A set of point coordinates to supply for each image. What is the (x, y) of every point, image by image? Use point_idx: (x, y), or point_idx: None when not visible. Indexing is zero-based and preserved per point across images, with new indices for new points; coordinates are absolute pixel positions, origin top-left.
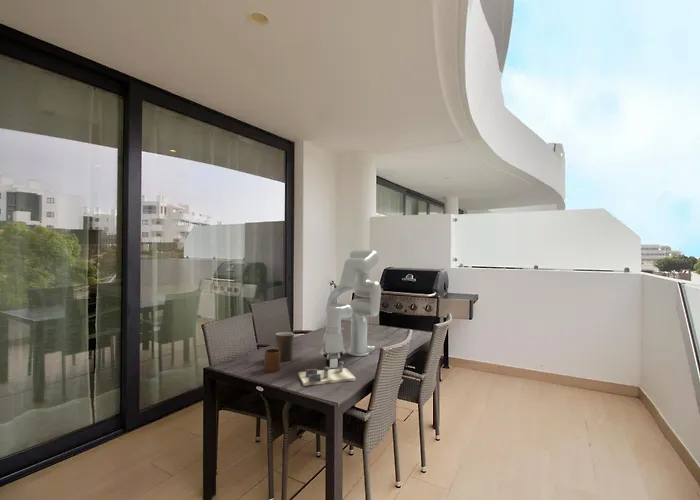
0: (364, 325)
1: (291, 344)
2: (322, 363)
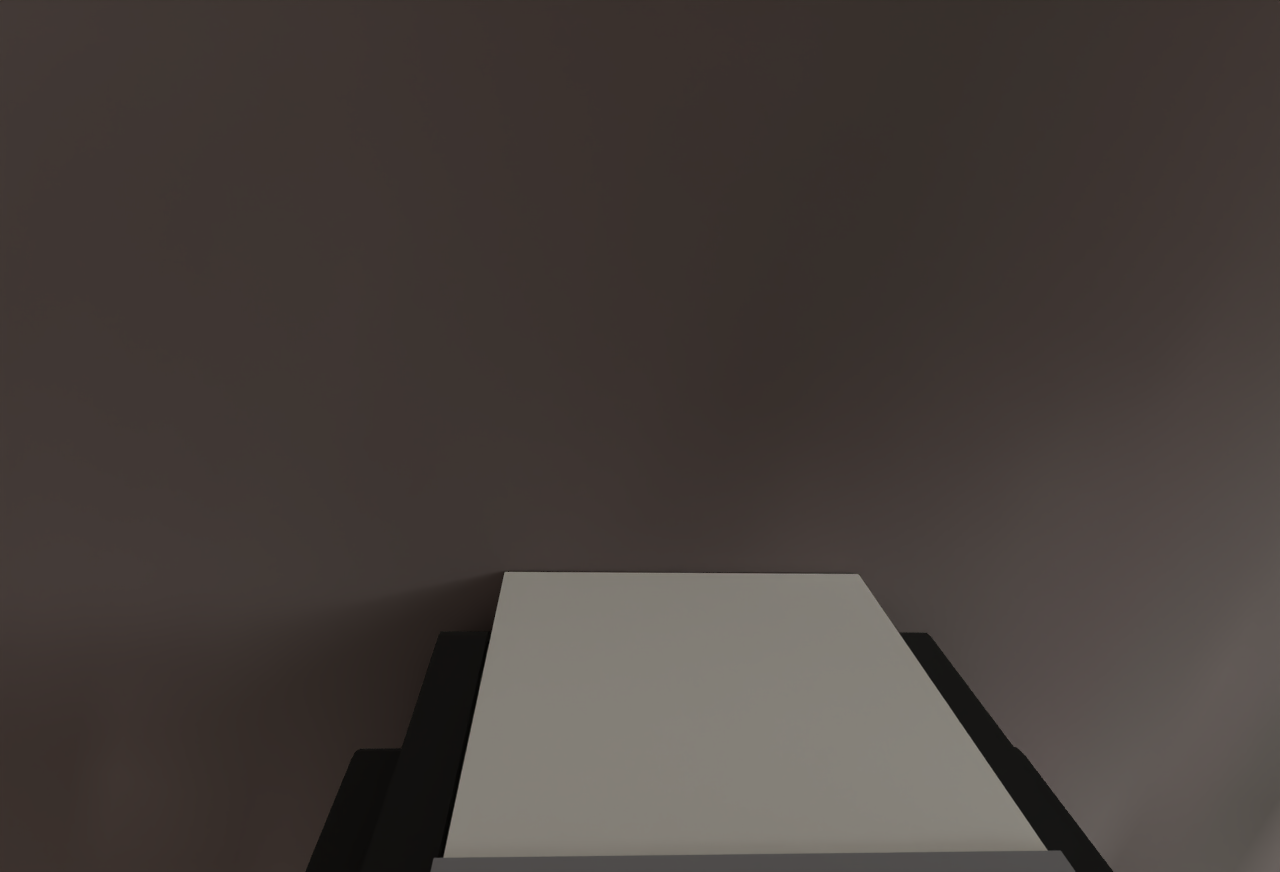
0: None
1: None
2: (324, 154)
